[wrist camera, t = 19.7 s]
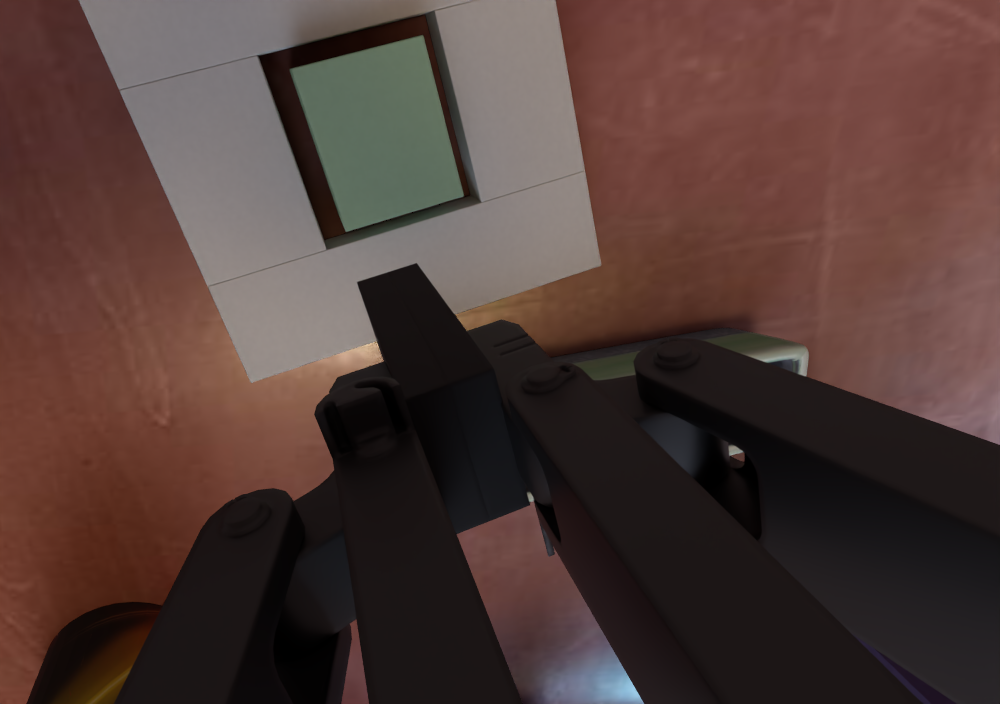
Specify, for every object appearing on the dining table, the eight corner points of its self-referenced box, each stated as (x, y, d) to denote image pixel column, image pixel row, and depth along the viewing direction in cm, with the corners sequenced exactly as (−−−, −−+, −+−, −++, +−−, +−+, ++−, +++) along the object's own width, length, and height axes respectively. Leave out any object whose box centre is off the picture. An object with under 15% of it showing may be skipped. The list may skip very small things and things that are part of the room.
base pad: (68, -48, 31) (53, -57, 29) (512, -144, 35) (528, -158, 33) (252, 366, 41) (250, 383, 38) (585, 256, 44) (601, 265, 42)
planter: (382, 470, 46) (399, 534, 40) (368, 374, 43) (384, 426, 37) (737, 396, 53) (800, 441, 46) (744, 309, 50) (813, 344, 43)
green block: (288, 69, 36) (290, 68, 32) (407, 38, 37) (423, 34, 33) (338, 215, 39) (345, 232, 35) (445, 184, 40) (464, 196, 36)
